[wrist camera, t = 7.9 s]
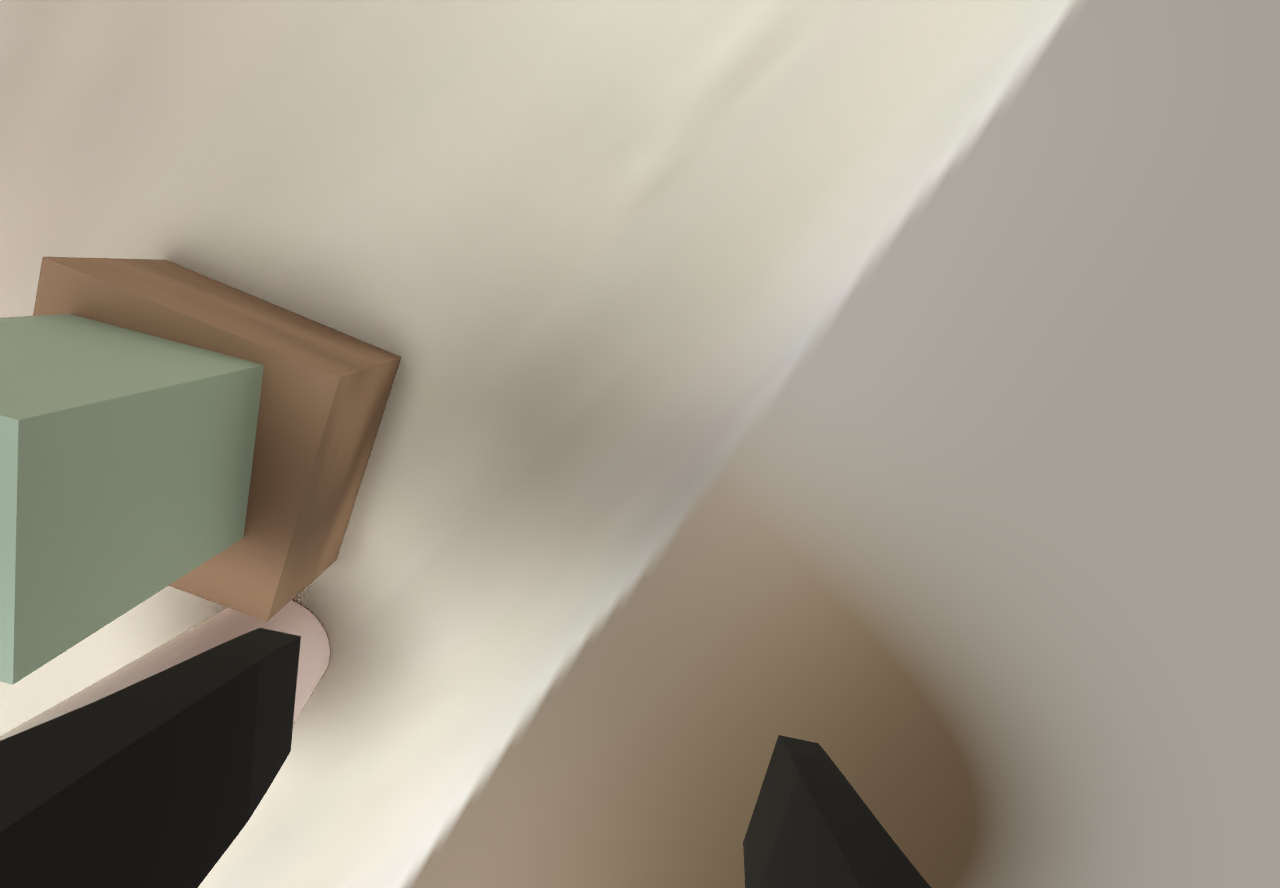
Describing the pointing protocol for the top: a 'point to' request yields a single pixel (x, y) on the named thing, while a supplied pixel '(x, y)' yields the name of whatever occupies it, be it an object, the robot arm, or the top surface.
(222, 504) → the sage block
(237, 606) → the walnut block
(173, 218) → the top surface
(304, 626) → the smoothie
